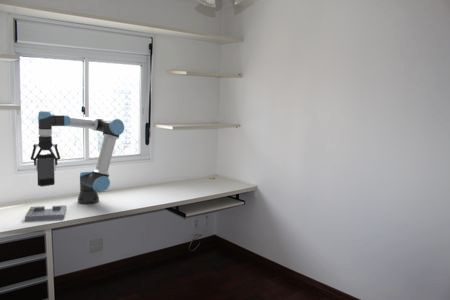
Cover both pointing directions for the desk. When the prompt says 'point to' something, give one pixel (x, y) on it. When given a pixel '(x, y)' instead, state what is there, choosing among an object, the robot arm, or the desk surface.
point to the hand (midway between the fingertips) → (45, 170)
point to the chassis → (45, 213)
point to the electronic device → (45, 170)
